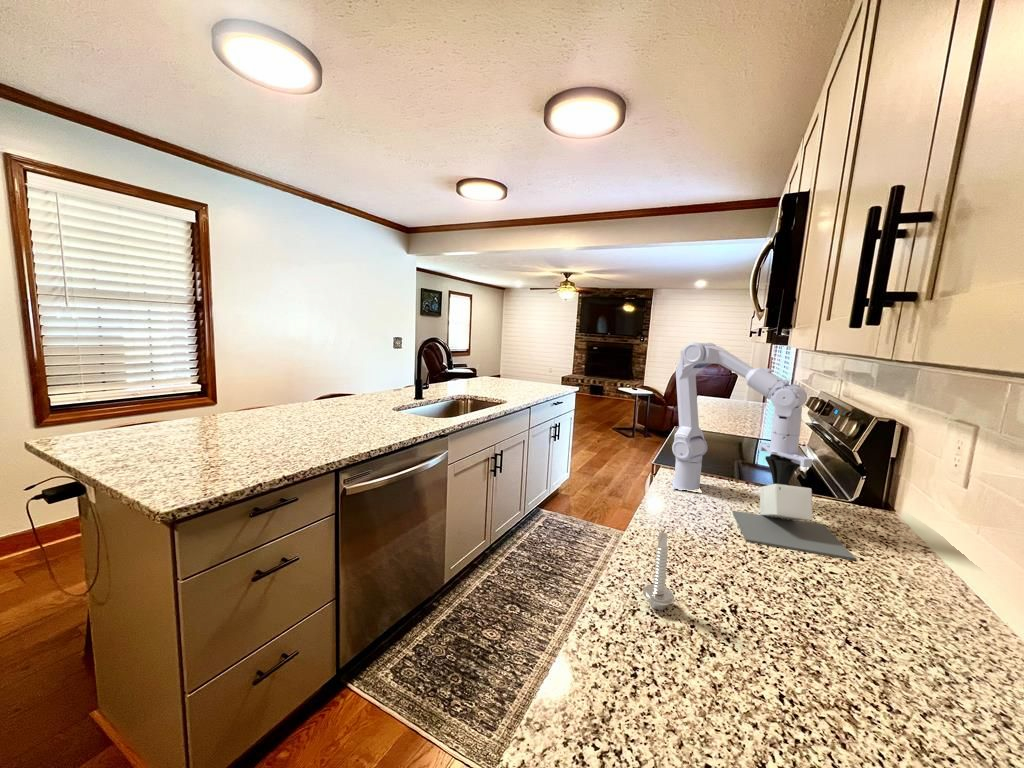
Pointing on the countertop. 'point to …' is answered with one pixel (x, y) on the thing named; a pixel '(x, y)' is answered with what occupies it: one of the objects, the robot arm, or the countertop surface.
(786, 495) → the supplement box
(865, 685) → the countertop surface
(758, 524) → the mat
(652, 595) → the screw
